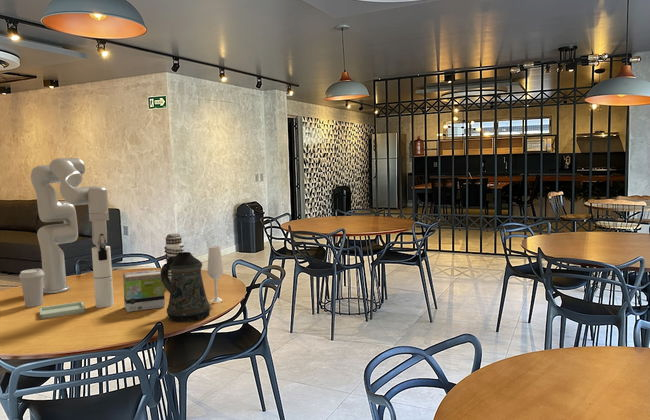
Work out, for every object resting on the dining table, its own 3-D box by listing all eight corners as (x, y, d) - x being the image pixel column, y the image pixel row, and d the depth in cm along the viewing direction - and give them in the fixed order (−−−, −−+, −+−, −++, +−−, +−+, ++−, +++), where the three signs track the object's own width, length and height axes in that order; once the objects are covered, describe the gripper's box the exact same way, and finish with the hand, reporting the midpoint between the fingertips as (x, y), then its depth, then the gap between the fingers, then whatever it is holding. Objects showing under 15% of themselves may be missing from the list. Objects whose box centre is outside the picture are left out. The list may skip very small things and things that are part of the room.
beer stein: (207, 321, 188) (204, 256, 186) (154, 324, 187) (150, 258, 184) (213, 308, 205) (210, 248, 202) (164, 311, 203) (161, 250, 201)
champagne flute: (220, 304, 211) (218, 248, 209) (206, 303, 213) (203, 247, 210) (227, 299, 218) (224, 245, 216) (212, 299, 219) (210, 245, 217)
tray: (39, 311, 205) (39, 307, 205) (82, 305, 213) (82, 301, 213) (40, 319, 195) (40, 314, 195) (85, 312, 203) (85, 308, 203)
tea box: (127, 313, 201) (124, 277, 200) (124, 307, 210) (122, 272, 209) (165, 307, 208) (163, 272, 207) (161, 301, 217) (159, 268, 215)
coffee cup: (35, 308, 210) (32, 273, 208) (15, 307, 212) (12, 273, 210) (51, 302, 219) (49, 268, 218) (33, 301, 221) (30, 268, 220)
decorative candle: (177, 280, 254) (175, 232, 252) (189, 283, 249) (187, 233, 246) (162, 284, 247) (159, 234, 244) (174, 287, 242) (171, 236, 239)
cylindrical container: (91, 306, 211) (87, 248, 209) (104, 302, 218) (101, 245, 215) (104, 308, 209) (100, 249, 206) (117, 303, 215) (113, 246, 213)
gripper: (87, 215, 215) (89, 256, 217) (91, 219, 200) (94, 263, 202) (106, 214, 219) (108, 254, 221) (111, 218, 204) (114, 260, 206)
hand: (101, 258), depth 211 cm, fingers closed on cylindrical container, 7 cm apart
